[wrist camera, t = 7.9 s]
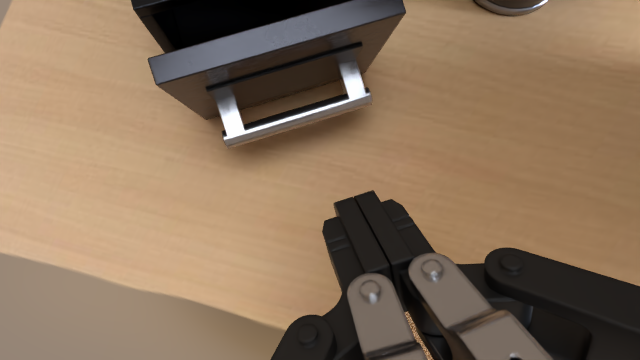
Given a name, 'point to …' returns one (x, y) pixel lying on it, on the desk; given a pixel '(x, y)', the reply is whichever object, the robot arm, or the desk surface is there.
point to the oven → (215, 17)
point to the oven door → (281, 67)
